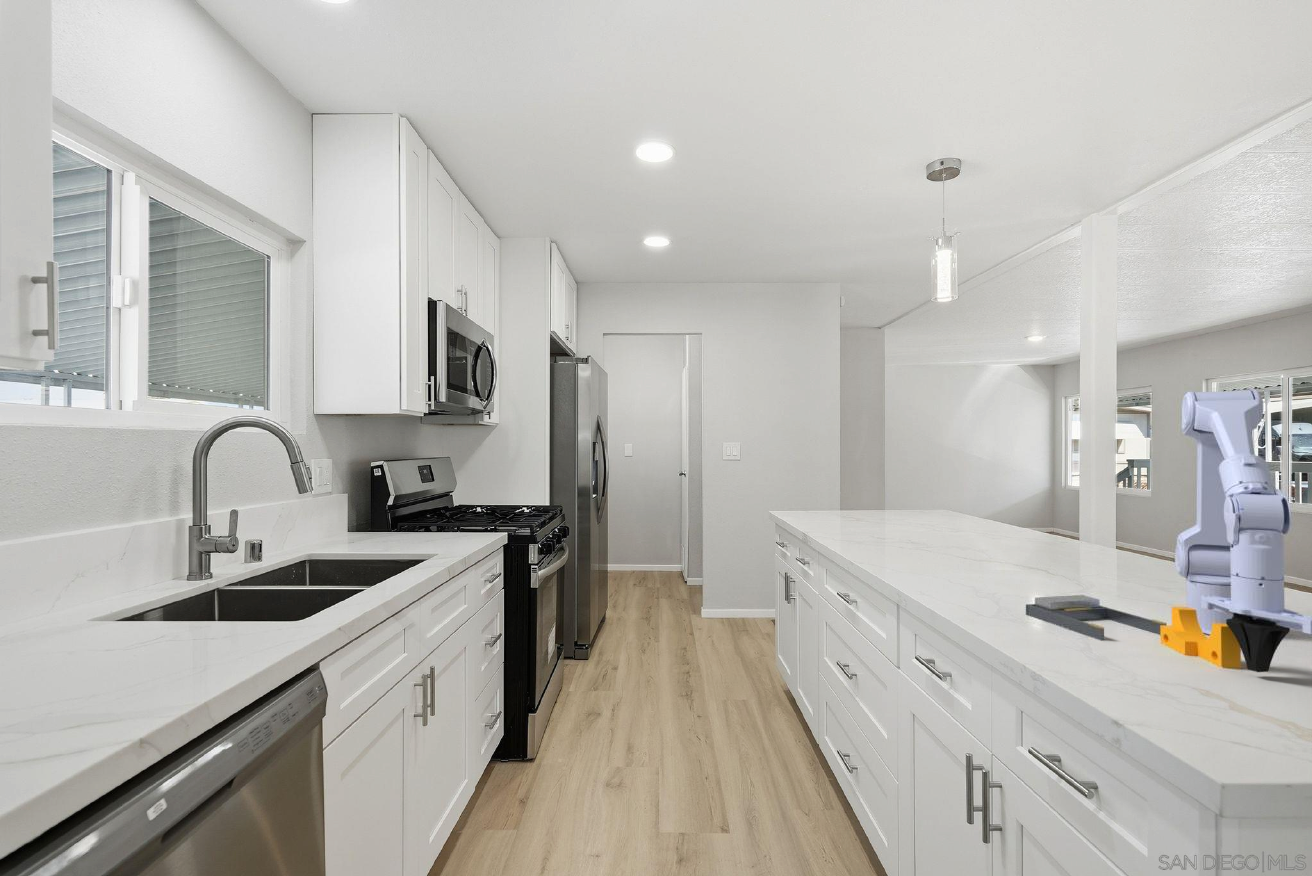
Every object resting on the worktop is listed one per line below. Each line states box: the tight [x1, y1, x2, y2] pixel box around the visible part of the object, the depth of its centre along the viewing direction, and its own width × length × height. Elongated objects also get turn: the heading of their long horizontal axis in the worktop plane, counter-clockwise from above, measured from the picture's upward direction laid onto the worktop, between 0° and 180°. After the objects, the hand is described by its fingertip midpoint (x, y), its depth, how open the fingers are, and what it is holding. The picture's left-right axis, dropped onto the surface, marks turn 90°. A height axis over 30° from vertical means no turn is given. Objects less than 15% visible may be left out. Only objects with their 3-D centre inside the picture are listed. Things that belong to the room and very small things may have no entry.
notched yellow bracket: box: [1159, 606, 1242, 670], centre depth 104 cm, size 12×4×6 cm, turn 171°
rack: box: [1025, 594, 1167, 641], centre depth 122 cm, size 14×17×4 cm
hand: (1258, 670), depth 94 cm, fingers closed
